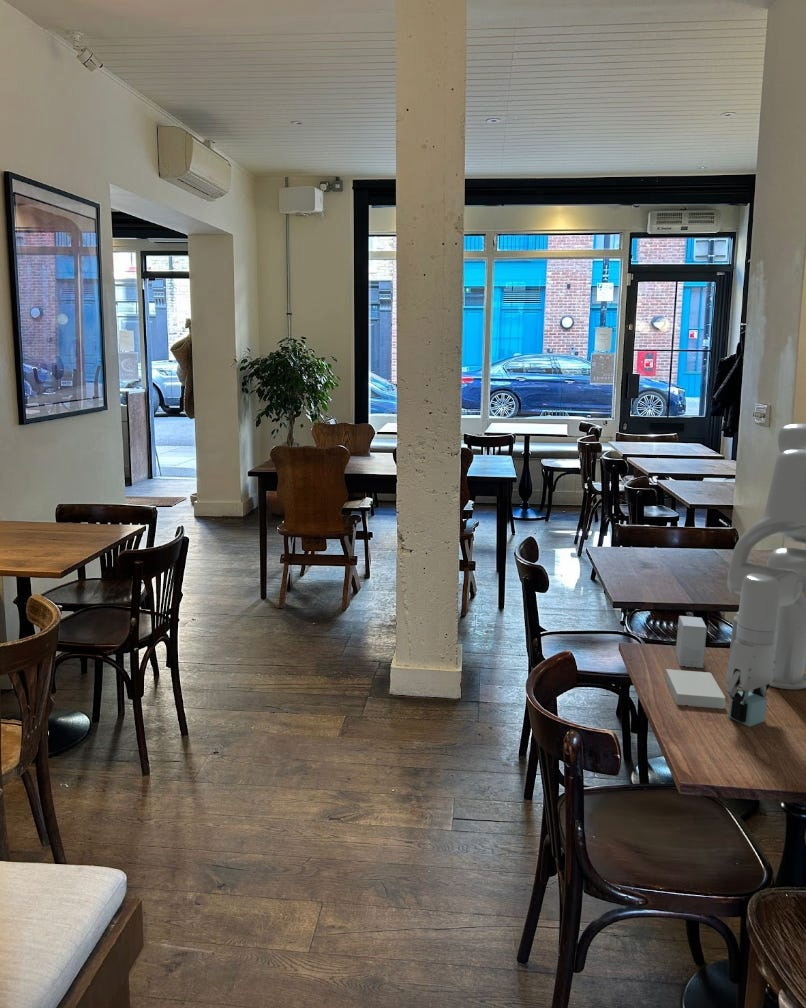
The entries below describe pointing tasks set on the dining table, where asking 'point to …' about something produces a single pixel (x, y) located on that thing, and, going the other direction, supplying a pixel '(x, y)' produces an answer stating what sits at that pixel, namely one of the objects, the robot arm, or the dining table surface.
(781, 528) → the robot arm
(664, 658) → the dining table surface
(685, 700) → the plate
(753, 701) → the teal cube
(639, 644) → the dining table surface
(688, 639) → the small box
